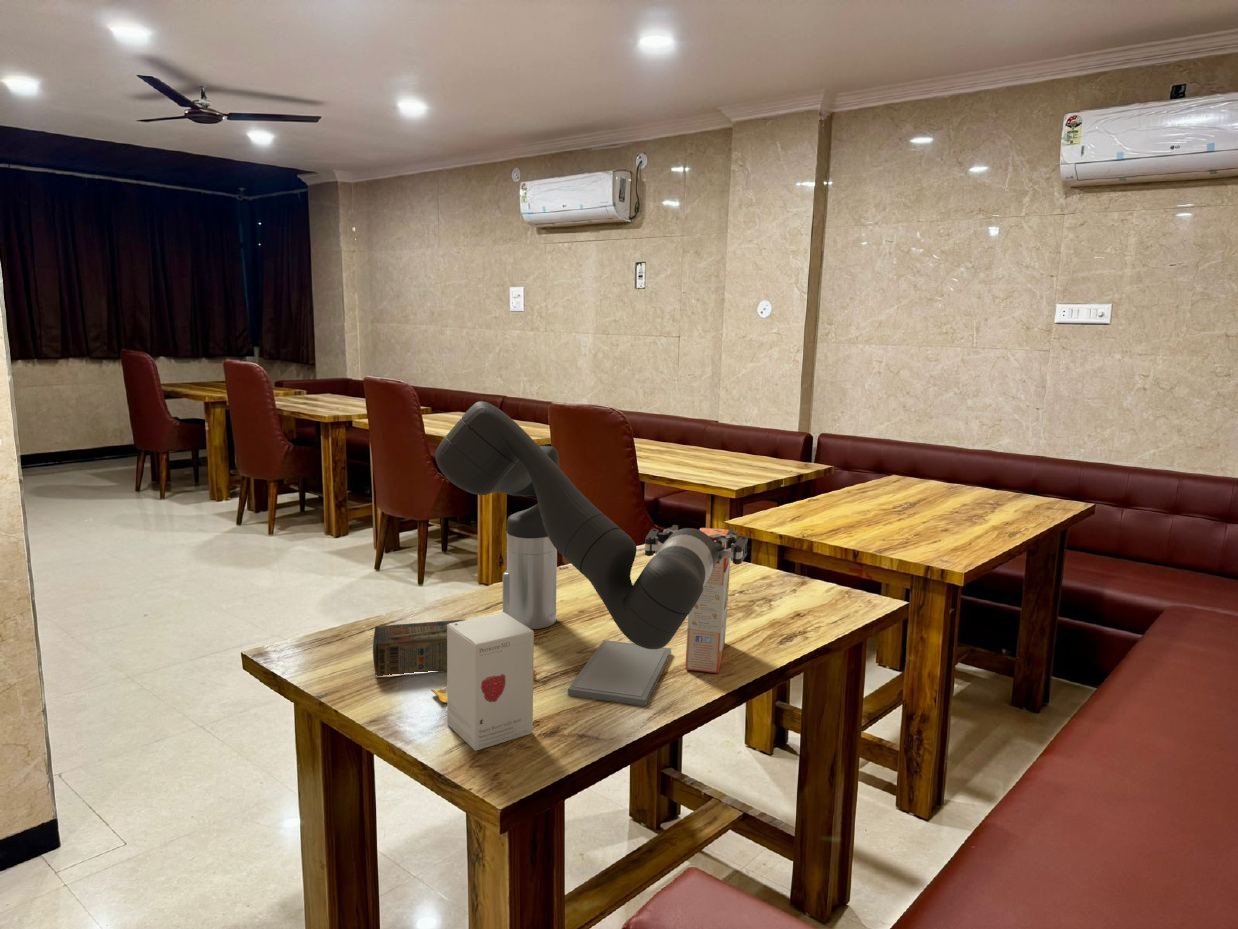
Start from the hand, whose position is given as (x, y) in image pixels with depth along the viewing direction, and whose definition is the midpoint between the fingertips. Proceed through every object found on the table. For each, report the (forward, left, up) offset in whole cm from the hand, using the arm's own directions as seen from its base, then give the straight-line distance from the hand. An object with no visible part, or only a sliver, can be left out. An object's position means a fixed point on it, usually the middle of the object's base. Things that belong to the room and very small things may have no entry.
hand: (703, 533), depth 123 cm
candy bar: (-31, -11, -25) cm, 41 cm away
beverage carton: (-42, -5, -25) cm, 49 cm away
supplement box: (-25, -23, -25) cm, 42 cm away
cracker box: (0, +11, -25) cm, 27 cm away
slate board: (-12, 0, -24) cm, 27 cm away
